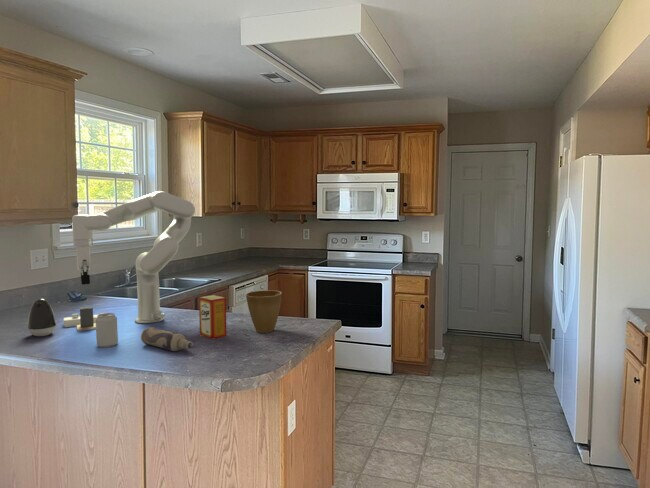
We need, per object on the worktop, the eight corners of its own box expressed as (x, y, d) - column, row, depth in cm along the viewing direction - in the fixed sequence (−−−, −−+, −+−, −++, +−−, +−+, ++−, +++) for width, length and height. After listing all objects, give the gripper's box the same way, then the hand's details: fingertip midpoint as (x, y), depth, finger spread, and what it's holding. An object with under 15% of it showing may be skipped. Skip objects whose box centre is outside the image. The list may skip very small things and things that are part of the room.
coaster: (96, 324, 221) (96, 323, 221) (97, 328, 214) (97, 326, 214) (76, 326, 218) (76, 325, 218) (77, 330, 211) (77, 329, 211)
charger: (93, 324, 219) (92, 306, 218) (93, 326, 215) (92, 307, 215) (80, 325, 217) (79, 307, 216) (80, 327, 213) (79, 308, 212)
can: (112, 341, 194) (110, 311, 193) (121, 344, 189) (120, 313, 188) (93, 345, 188) (91, 314, 187) (102, 349, 183) (101, 317, 182)
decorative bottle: (139, 346, 187) (139, 329, 187) (156, 341, 193) (156, 325, 193) (184, 357, 173) (184, 338, 172) (201, 352, 179) (201, 334, 178)
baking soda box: (200, 334, 203) (198, 296, 201) (213, 331, 207) (212, 294, 206) (212, 339, 196) (211, 299, 195) (226, 336, 200) (225, 296, 199)
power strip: (107, 319, 231) (107, 309, 230) (108, 322, 225) (108, 312, 225) (64, 324, 223) (63, 313, 222) (64, 327, 217) (63, 316, 217)
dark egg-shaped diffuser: (24, 339, 198) (22, 301, 197) (32, 332, 208) (30, 297, 207) (52, 337, 201) (50, 300, 200) (59, 330, 211) (57, 295, 210)
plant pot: (267, 324, 219) (267, 288, 218) (289, 330, 208) (288, 292, 207) (239, 330, 209) (238, 293, 207) (260, 337, 198) (260, 297, 197)
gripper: (73, 242, 219) (75, 280, 221) (73, 245, 204) (76, 286, 205) (92, 241, 223) (94, 279, 224) (93, 244, 207) (95, 284, 209)
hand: (85, 282), depth 215 cm, fingers open, 9 cm apart
